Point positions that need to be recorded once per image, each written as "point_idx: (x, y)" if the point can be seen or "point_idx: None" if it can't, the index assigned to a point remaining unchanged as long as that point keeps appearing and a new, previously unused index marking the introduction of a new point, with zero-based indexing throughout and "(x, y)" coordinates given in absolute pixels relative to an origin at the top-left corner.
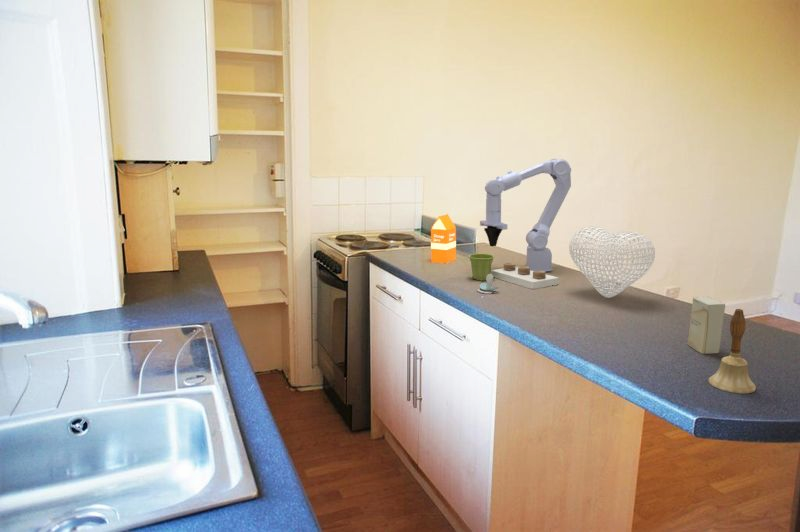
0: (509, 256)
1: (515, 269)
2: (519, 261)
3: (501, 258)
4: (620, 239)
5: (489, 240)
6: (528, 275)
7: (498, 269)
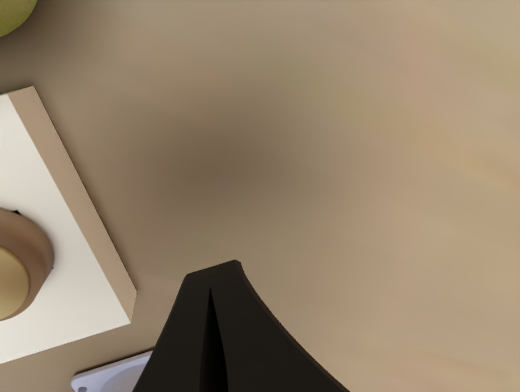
0: (513, 364)
1: None
2: (397, 376)
3: (503, 323)
4: None
5: (231, 315)
6: None
7: (32, 172)
